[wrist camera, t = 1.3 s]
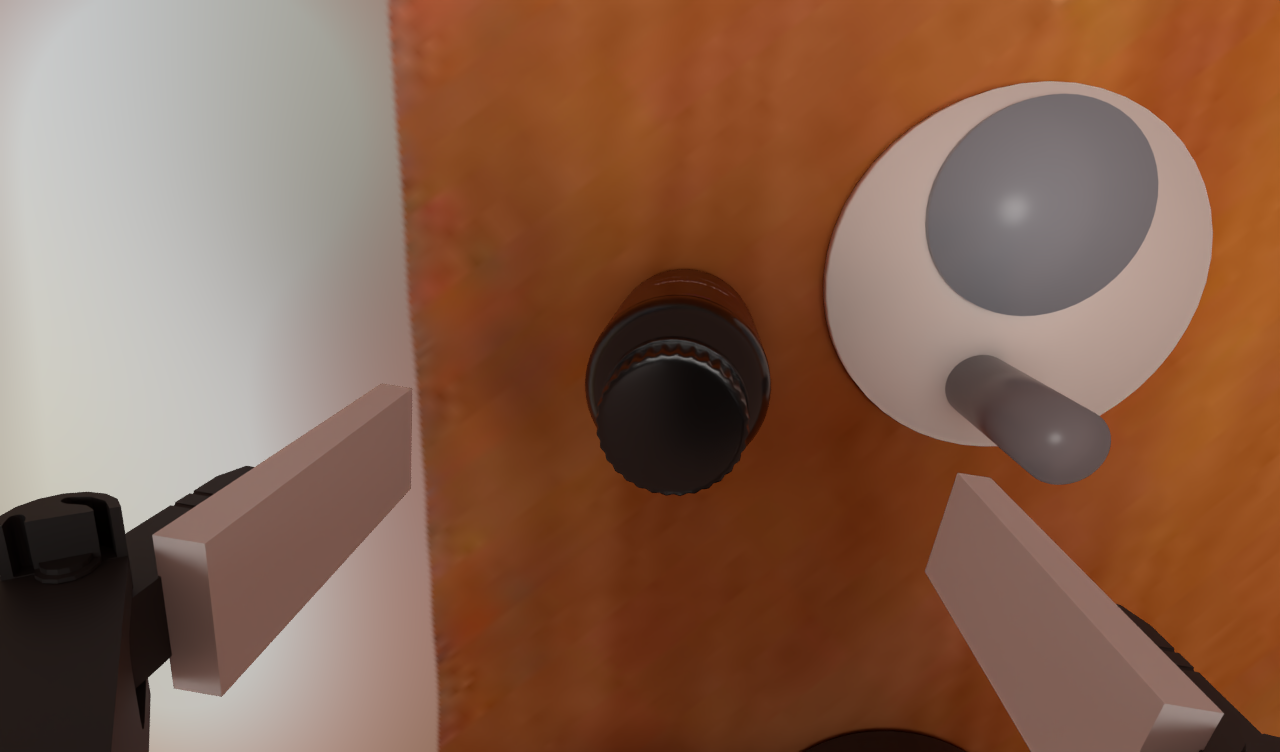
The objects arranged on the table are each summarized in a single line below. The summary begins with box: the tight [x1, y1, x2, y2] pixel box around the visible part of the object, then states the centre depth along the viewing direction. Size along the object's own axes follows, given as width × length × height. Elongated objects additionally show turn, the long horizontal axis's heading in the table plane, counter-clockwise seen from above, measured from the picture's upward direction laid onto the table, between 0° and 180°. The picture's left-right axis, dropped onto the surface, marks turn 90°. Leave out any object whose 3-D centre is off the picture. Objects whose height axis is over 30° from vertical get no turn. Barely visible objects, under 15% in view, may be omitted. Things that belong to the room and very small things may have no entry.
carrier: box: [823, 81, 1213, 485], centre depth 24 cm, size 16×16×8 cm
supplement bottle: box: [585, 269, 771, 496], centre depth 24 cm, size 7×7×12 cm
